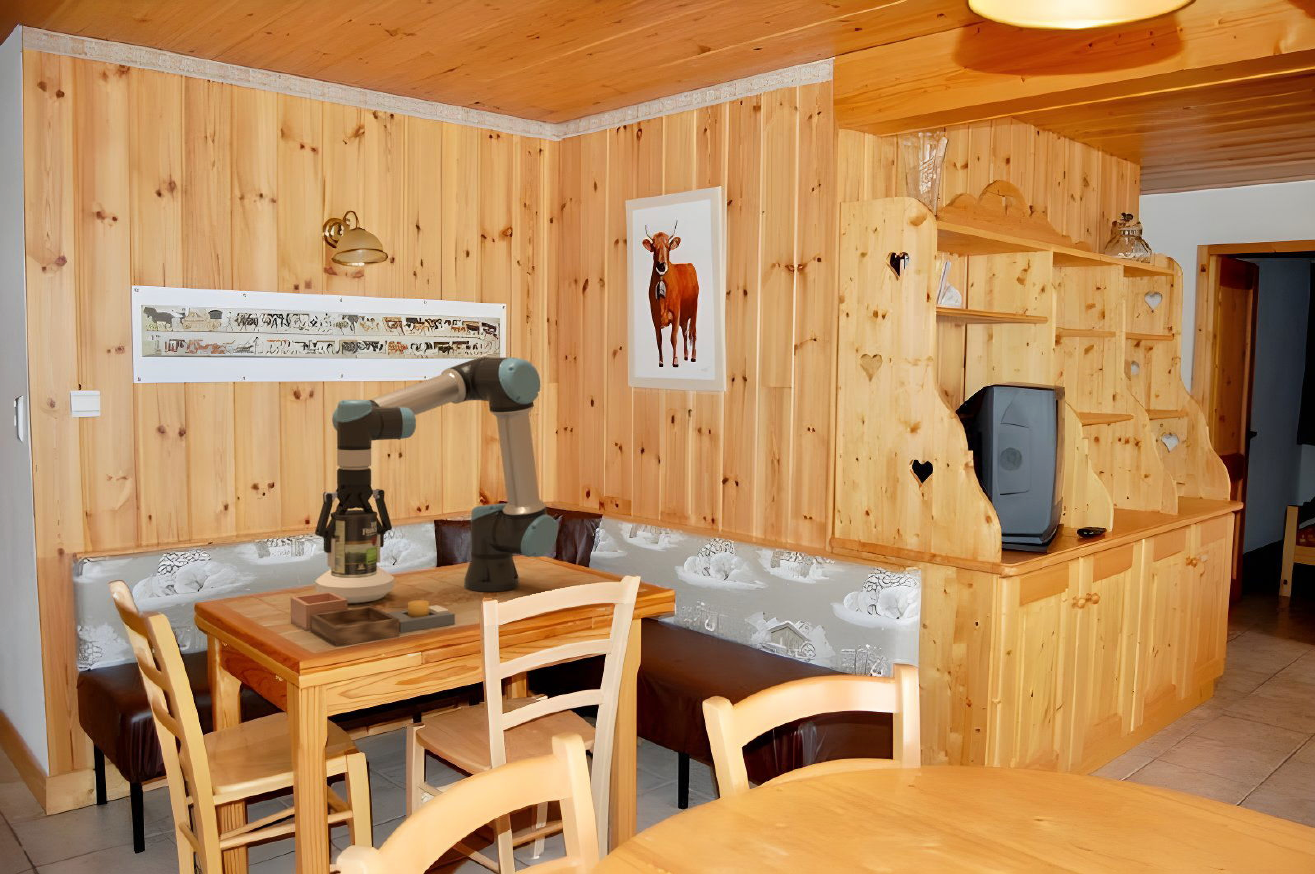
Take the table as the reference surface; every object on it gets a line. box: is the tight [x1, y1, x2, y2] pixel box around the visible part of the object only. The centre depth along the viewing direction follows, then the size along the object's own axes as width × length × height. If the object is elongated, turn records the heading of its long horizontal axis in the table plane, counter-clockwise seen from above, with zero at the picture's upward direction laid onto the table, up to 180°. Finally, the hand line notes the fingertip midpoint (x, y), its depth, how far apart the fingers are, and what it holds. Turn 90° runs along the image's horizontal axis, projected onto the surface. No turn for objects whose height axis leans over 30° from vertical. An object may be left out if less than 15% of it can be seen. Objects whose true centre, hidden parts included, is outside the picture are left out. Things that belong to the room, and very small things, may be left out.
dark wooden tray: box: [310, 605, 400, 647], centre depth 242 cm, size 15×15×4 cm
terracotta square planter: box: [290, 592, 348, 632], centre depth 251 cm, size 10×10×6 cm
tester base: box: [386, 604, 456, 634], centre depth 252 cm, size 14×10×3 cm
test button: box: [407, 599, 430, 618], centre depth 252 cm, size 5×5×4 cm
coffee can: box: [330, 509, 378, 578], centre depth 240 cm, size 10×10×14 cm
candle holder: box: [314, 565, 395, 604], centre depth 276 cm, size 20×20×19 cm
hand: (354, 563), depth 241 cm, fingers closed on coffee can, 10 cm apart
